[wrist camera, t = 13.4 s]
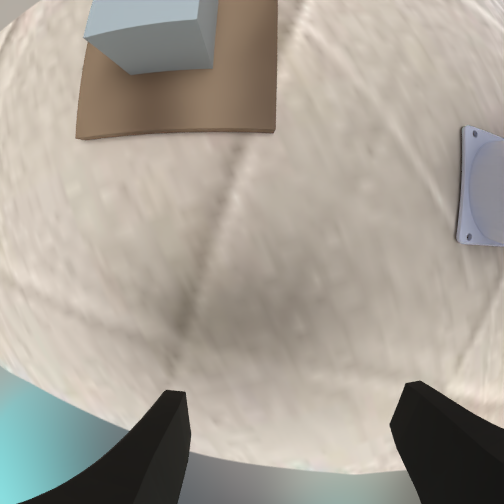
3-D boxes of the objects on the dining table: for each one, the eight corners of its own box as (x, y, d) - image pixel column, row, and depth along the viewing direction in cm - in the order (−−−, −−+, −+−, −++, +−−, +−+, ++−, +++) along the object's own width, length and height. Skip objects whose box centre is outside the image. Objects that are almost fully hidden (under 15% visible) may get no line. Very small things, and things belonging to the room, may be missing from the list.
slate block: (218, 2, 12) (208, -57, 7) (212, 68, 13) (196, 19, 8) (140, 10, 12) (106, -39, 7) (130, 75, 13) (83, 38, 8)
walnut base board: (275, -22, 13) (277, -33, 11) (273, 133, 15) (275, 129, 14) (109, -8, 12) (102, -16, 11) (85, 140, 15) (75, 138, 14)
